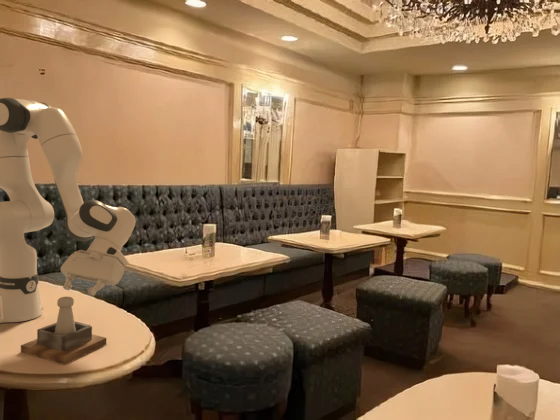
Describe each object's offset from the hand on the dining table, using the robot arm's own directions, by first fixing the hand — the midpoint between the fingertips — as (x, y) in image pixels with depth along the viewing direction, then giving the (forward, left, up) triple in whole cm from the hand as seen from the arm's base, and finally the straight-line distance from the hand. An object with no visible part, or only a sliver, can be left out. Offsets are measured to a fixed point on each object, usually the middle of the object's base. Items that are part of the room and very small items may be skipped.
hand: (78, 291), depth 144 cm
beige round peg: (0, -5, -14) cm, 15 cm away
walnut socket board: (0, -5, -16) cm, 16 cm away
